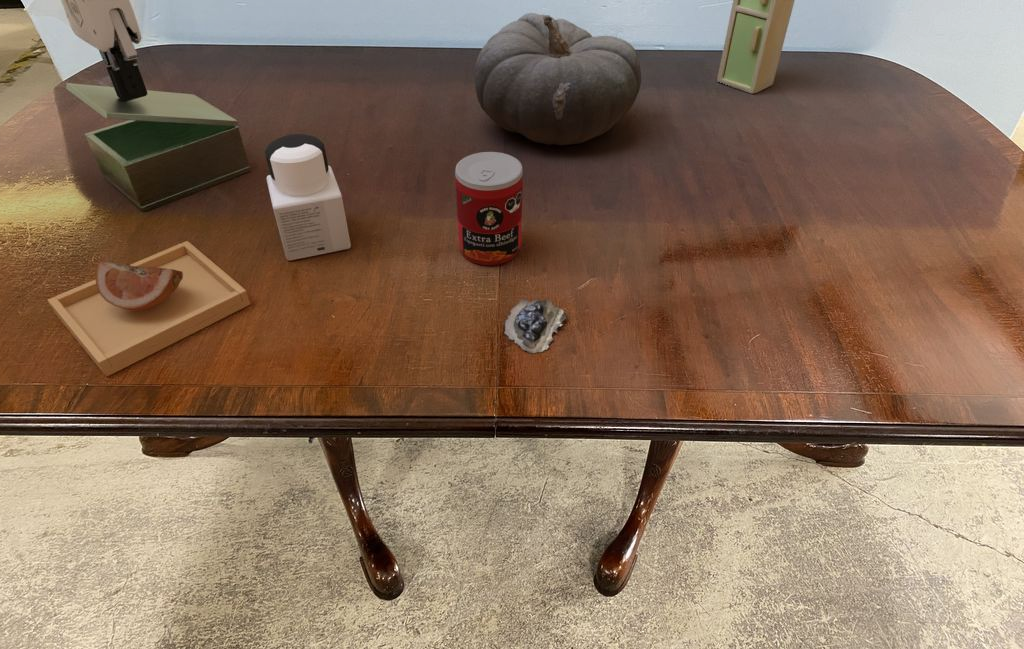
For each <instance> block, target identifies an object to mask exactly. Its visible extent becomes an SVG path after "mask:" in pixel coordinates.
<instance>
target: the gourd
mask: <svg viewBox="0 0 1024 649" xmlns="http://www.w3.org/2000/svg"><path fill="white" fill-rule="evenodd" d="M474 66H475V67H474V88H475V93H476V98H477V101H478V103H479V106H480V108H481V109H482V111H483V112H484V113H485V114H486V115H487V116H488V117H489V118H490V119H491V120H492V121H493V122H494V123H495V124H496V125H497V126H499V127H500V128H502V129H503V130H504V131H508V132H510V133H517V134H518V133H519V134H520V135H523V136H524V137H525V138H526V139H527V140H529V141H532V142H535V143H539V144H544V145H547V146H549V145H550V146H551V145H556V146H569V145H576V144H577V145H578V144H581V143H584V142H587V141H589V140H592V139H593V138H596V137H599V136H602V135H604V134H605V133H606V132H608V131H609V130H610V129H611V128H612V127H614V125H615V124H616V123H617V122H618V121H620V120H621V119H622V118H623V117H624V116H625V115H626V114H627V113H628V112H629V111H630V110H631V108H632V107H633V105H634V104H635V102H636V100H637V97H638V95H639V92H640V89H641V85H642V70H641V63H640V60H639V56H638V52H637V51H636V49H635V47H634V46H633V45H632V44H631V43H630V42H628V41H627V40H625V39H624V38H621V37H617V36H613V35H597V36H596V35H595V36H593V35H592V34H591V33H590V32H589V31H587V30H586V29H584V28H582V27H580V26H577V25H576V24H574V23H573V22H570V21H569V20H567V19H563V18H557V19H555V18H554V17H552V16H551V15H549V14H548V15H547V14H539V13H537V12H528V13H525V14H523V15H522V16H520V17H519V18H518V19H517V20H514V21H512V22H510V23H508V24H506V25H505V26H503V27H501V29H500V30H498V32H496V33H495V34H494V35H492V36H491V37H490V38H488V40H487V42H486V43H485V44H484V46H483V47H482V48H481V50H480V52H479V53H478V56H477V58H476V61H475V65H474Z"/></svg>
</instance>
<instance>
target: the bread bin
mask: <svg viewBox="0 0 1024 649" xmlns="http://www.w3.org/2000/svg"><path fill="white" fill-rule="evenodd" d="M84 136H85V138H86V141H87V143H88V145H89V147H90V150H91V152H92V154H93V156H94V159H95V161H96V163H97V165H98V167H99V170H100V173H101V174H102V176H103V179H104V180H105V181H106V182H107V183H108V184H110V185H111V186H112V187H113V188H114V189H116V190H117V191H118V192H119V193H121V194H122V196H124V197H125V198H126V199H127V200H128V201H130V202H131V203H132V204H133V205H134V206H135V207H136V208H137V209H139V210H140V211H141V212H142V213H145V212H149V211H151V210H153V209H156V208H159V207H161V206H164V205H167V204H169V203H171V202H174V201H176V200H179V199H182V198H184V197H187V196H190V195H192V194H195V193H197V192H200V191H203V190H206V189H208V188H210V187H213V186H215V185H217V184H220V183H224V182H226V181H229V180H232V179H234V178H237V177H239V176H242V175H245V174H247V173H250V172H251V167H250V164H249V160H248V156H247V153H246V150H245V146H244V143H243V138H242V135H241V132H240V127H239V126H238V125H237V126H222V125H204V124H187V123H170V122H152V121H135V120H124V121H122V122H118V123H116V124H115V123H114V124H112V125H109V126H105V127H101V128H99V129H95V130H93V131H90V132H89V131H88V132H86V133H84Z"/></svg>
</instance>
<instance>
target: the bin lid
mask: <svg viewBox="0 0 1024 649" xmlns="http://www.w3.org/2000/svg"><path fill="white" fill-rule="evenodd" d="M65 84H66V85H65V86H66V87H65V88H66V90H67V91H69V93H71V94H72V95H74V96H75V97H76V98H78V99H79V100H81V101H82V102H83V103H85V105H87V106H88V107H90V108H91V109H92V110H94V111H95V112H97V113H98V114H99V115H100V116H102V117H103V118H104V119H106V120H118V121H128V120H135V121H152V122H170V123H187V124H204V125H222V126H238V120H237V119H235V118H234V117H232V116H231V115H228V114H227V113H225V112H224V111H222V110H220V109H219V108H217V107H216V106H214V105H212V104H211V103H209V102H207V101H206V100H204V99H202V98H200V97H199V96H197V95H195V94H193V93H191V94H190V93H183V92H171V91H162V90H161V91H159V90H150V89H146V90H147V95H146V96H144V97H140V98H137V99H133V100H130V101H126V102H125V101H123V100H122V99H120V98H119V97H118V96H117V94H116V91H115V89H114V86H104V85H93V84H84V83H70V82H66V83H65Z"/></svg>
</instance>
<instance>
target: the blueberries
mask: <svg viewBox="0 0 1024 649" xmlns="http://www.w3.org/2000/svg"><path fill="white" fill-rule="evenodd" d="M567 316H568V315H567V313H566V312H565V310H564V309H562V308H561V307H560V306H559V307H557V306H556V304H555V303H554V304H553V302H552V300H550V299H547V298H545V299H543V300H541V299H540V298H538V299H536V298H535V299H534V300H532V301H529V300H528V299H524V298H522V299H521V300H520V299H519V300H518V303H516V304H515V305H514V307H512V308H511V309H510V314H509V315H507V319H506V320H505V322H504V330H505V331H503V334H505V335H506V336H507V337H508V339H509V340H511V341H514V344H517V346H518V347H520V349H521V350H522V351H526V353H529V354H536V353H543V352H544V351H546V350H548V349H549V348H550V346H549V345H551V343H552V341H553V340H554V338H553V334H554V333H556V334H558V328H559V327H562V326H563V325H564V323H563V322H564V321H565V320H567Z"/></svg>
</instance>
